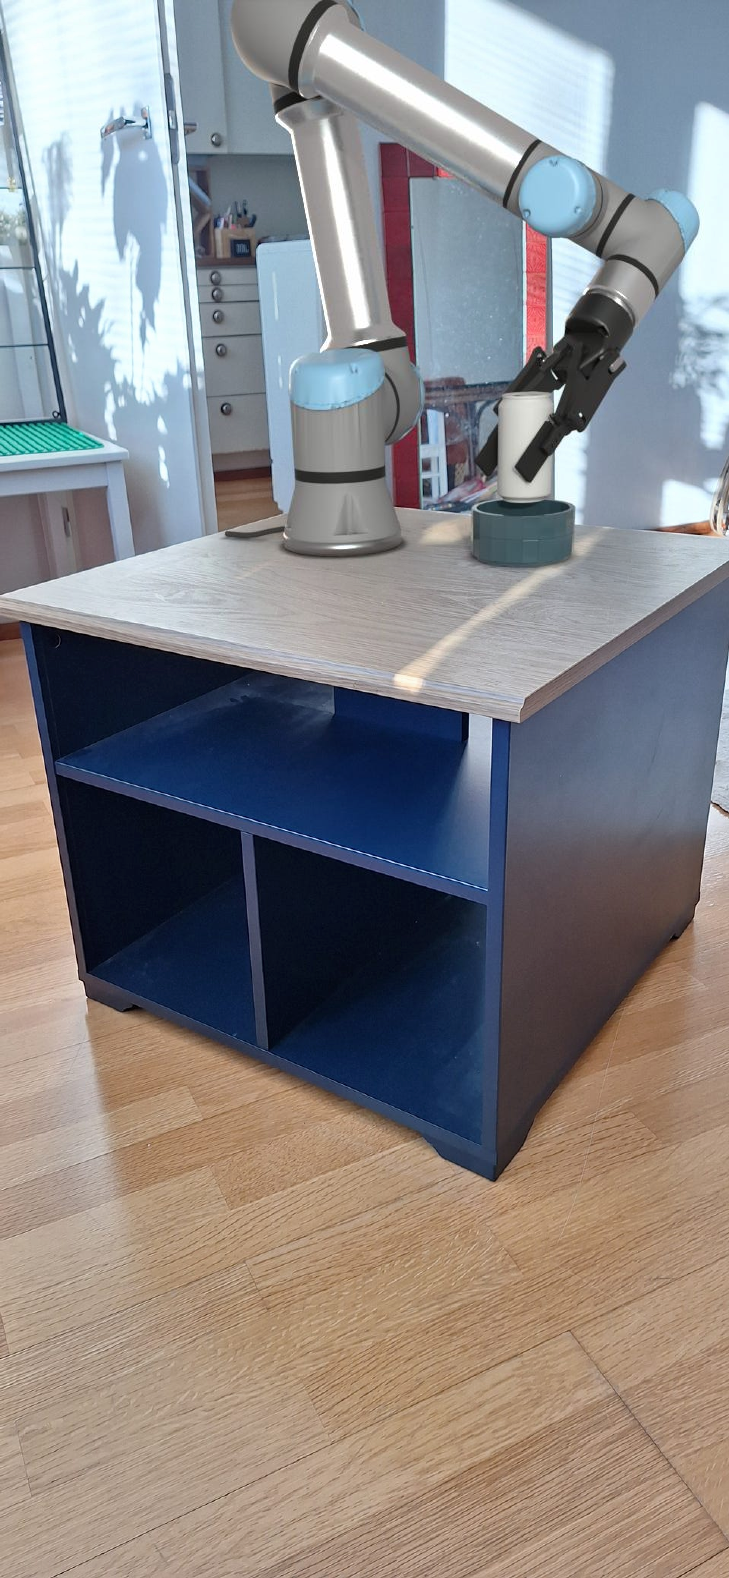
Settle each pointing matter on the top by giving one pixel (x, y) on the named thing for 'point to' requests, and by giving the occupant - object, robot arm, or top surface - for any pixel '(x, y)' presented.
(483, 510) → the bowl
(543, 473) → the beverage can
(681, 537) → the top surface
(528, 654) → the top surface
